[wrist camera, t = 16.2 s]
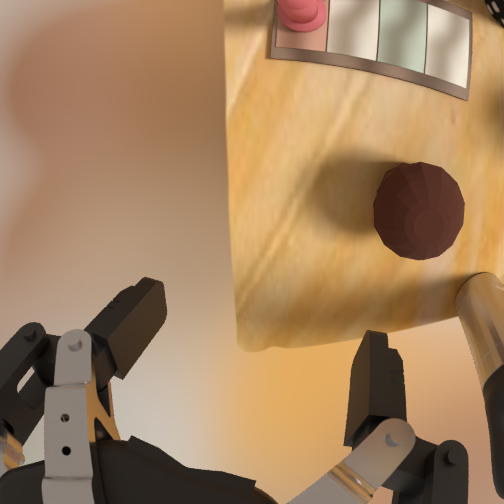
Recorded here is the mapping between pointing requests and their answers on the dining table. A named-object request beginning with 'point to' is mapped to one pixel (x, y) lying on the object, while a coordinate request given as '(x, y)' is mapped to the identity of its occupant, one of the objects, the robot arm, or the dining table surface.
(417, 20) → the game track
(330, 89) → the dining table surface
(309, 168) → the dining table surface
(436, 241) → the muffin
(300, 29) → the pawn
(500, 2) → the white-spotted black cylinder
